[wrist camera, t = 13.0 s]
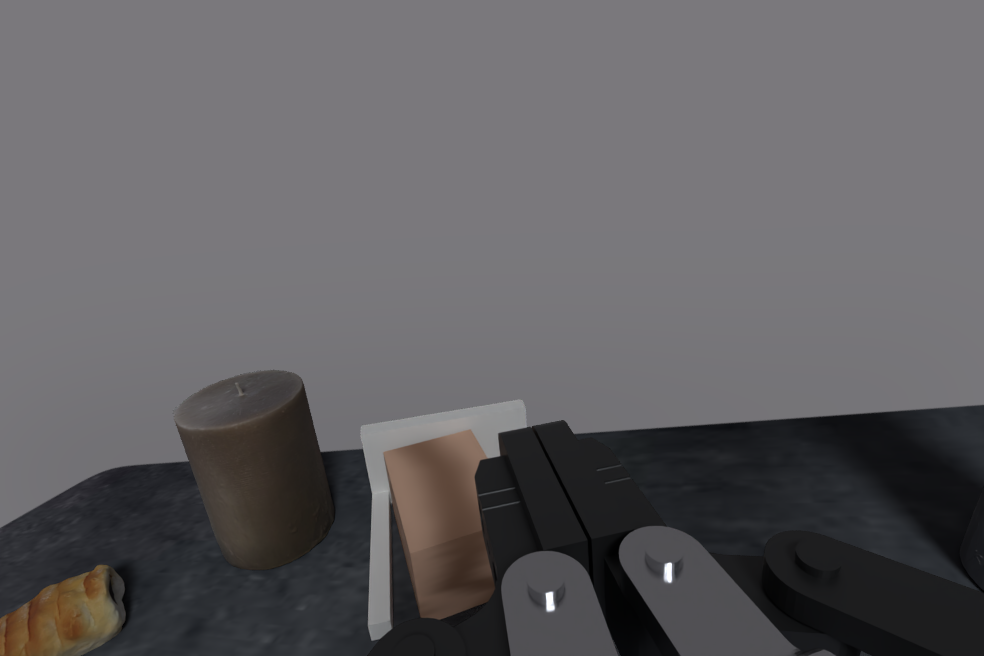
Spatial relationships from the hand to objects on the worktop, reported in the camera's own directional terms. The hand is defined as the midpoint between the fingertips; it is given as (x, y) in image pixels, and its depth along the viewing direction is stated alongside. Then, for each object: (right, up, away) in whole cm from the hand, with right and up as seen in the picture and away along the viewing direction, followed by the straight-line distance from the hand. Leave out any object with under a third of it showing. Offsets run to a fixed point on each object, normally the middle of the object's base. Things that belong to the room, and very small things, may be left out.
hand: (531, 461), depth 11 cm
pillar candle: (-20, -15, +34) cm, 42 cm away
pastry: (-32, -20, +25) cm, 46 cm away
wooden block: (-4, -15, +31) cm, 34 cm away
